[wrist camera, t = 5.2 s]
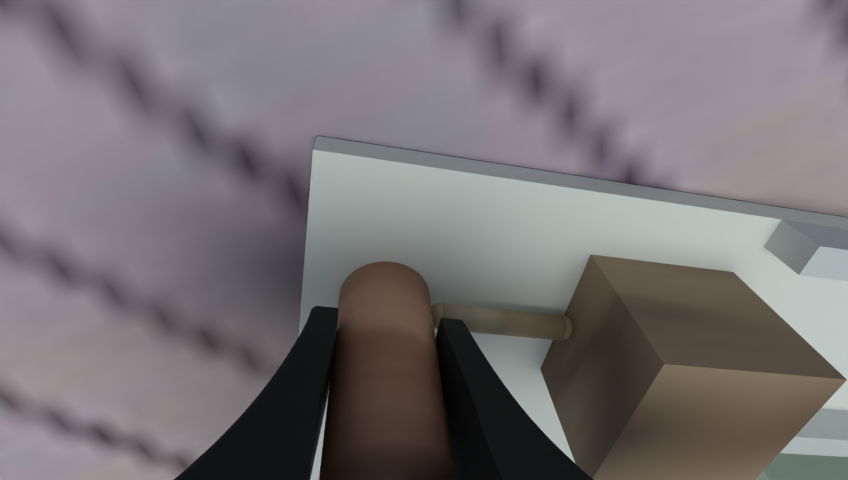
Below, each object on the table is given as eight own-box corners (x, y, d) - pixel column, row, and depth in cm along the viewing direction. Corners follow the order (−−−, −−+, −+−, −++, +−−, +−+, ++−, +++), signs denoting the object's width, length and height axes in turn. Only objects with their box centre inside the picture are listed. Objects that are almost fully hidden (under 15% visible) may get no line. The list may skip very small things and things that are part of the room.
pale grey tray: (779, 508, 26) (815, 558, 24) (287, 492, 22) (278, 552, 20) (1045, 247, 18) (1136, 290, 15) (317, 135, 13) (305, 174, 11)
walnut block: (664, 378, 18) (775, 549, 13) (331, 352, 16) (310, 542, 11) (733, 272, 16) (903, 432, 11) (348, 224, 14) (329, 395, 8)
